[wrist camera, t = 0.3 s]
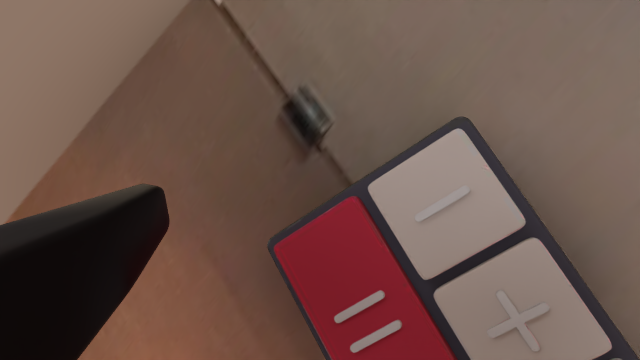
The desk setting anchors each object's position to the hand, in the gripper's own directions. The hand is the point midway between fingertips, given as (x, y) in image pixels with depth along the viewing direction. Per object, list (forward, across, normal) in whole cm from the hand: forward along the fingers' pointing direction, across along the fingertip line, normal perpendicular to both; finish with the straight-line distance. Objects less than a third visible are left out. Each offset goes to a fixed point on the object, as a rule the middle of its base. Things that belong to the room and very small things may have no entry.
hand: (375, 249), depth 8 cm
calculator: (+10, -3, +11) cm, 15 cm away
